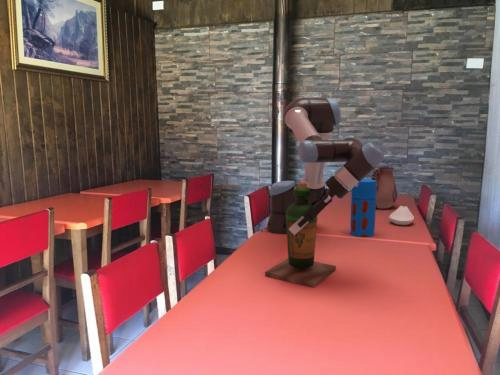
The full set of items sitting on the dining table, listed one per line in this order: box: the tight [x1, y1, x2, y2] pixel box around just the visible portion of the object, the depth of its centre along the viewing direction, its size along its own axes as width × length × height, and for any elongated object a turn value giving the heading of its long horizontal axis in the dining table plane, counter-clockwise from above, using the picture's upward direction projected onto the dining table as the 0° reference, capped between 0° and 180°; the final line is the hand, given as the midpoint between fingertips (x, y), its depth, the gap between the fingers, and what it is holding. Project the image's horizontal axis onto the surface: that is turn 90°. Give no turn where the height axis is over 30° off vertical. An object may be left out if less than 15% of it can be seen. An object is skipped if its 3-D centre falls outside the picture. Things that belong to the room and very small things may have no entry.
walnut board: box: [264, 257, 337, 288], centre depth 136 cm, size 18×18×2 cm
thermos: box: [349, 178, 377, 238], centre depth 181 cm, size 11×11×25 cm
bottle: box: [286, 183, 318, 269], centre depth 133 cm, size 11×11×28 cm
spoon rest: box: [388, 205, 415, 226], centre depth 206 cm, size 24×12×7 cm, turn 156°
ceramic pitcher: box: [370, 165, 398, 210], centre depth 236 cm, size 18×21×25 cm
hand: (293, 227), depth 134 cm, fingers closed on bottle, 10 cm apart
